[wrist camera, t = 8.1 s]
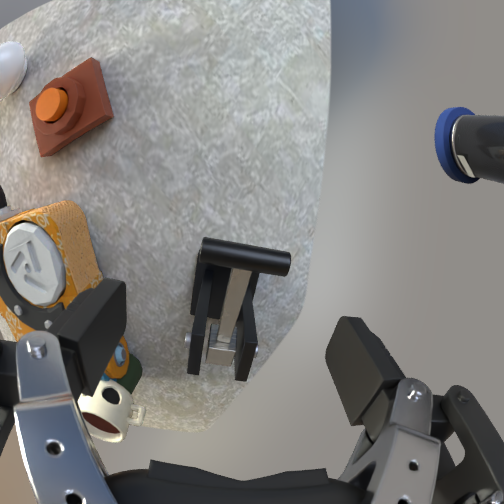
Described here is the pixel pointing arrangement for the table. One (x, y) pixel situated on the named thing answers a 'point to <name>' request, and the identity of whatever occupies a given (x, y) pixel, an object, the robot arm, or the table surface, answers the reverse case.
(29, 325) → the device
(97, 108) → the block
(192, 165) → the table surface
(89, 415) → the character mug
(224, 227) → the table surface
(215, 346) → the lever
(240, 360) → the bracket
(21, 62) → the flower vase
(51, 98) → the button
